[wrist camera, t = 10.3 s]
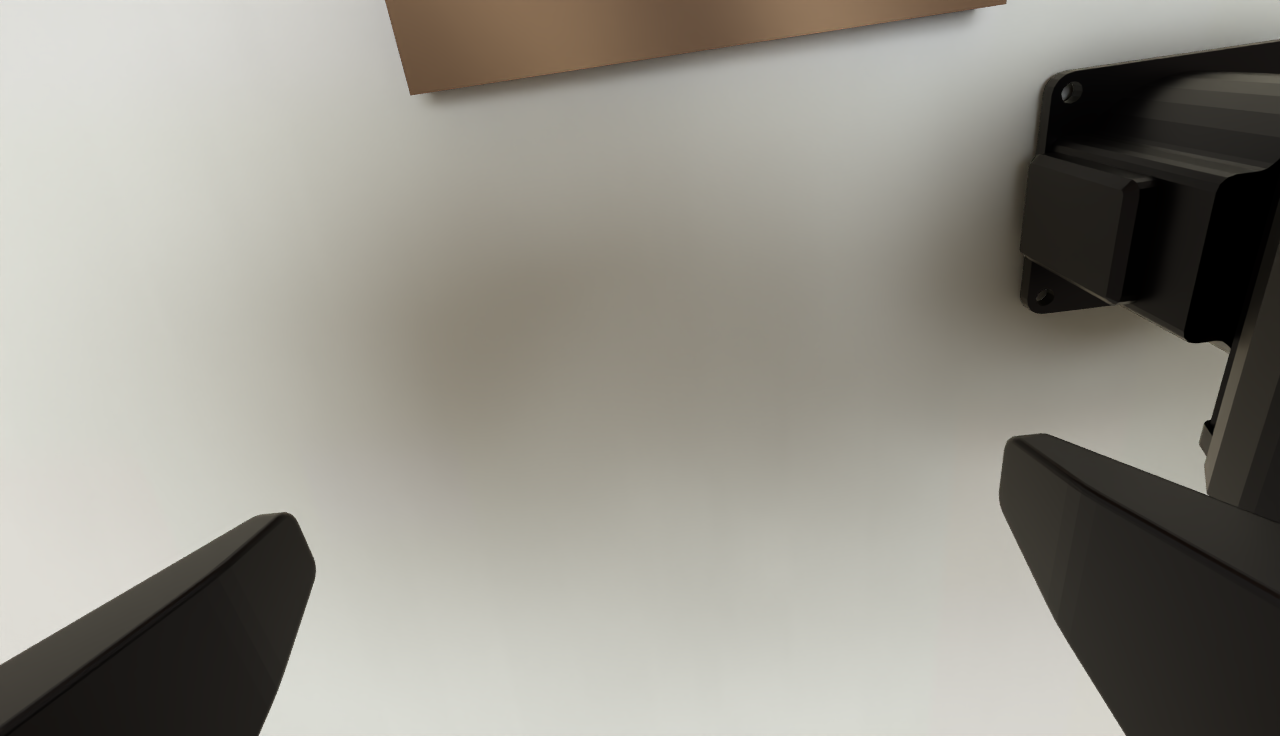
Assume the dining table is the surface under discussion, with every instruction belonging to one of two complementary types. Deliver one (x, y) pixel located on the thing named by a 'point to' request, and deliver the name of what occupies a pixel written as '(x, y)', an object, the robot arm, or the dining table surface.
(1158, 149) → the robot arm
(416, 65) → the brown piece
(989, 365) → the dining table surface
